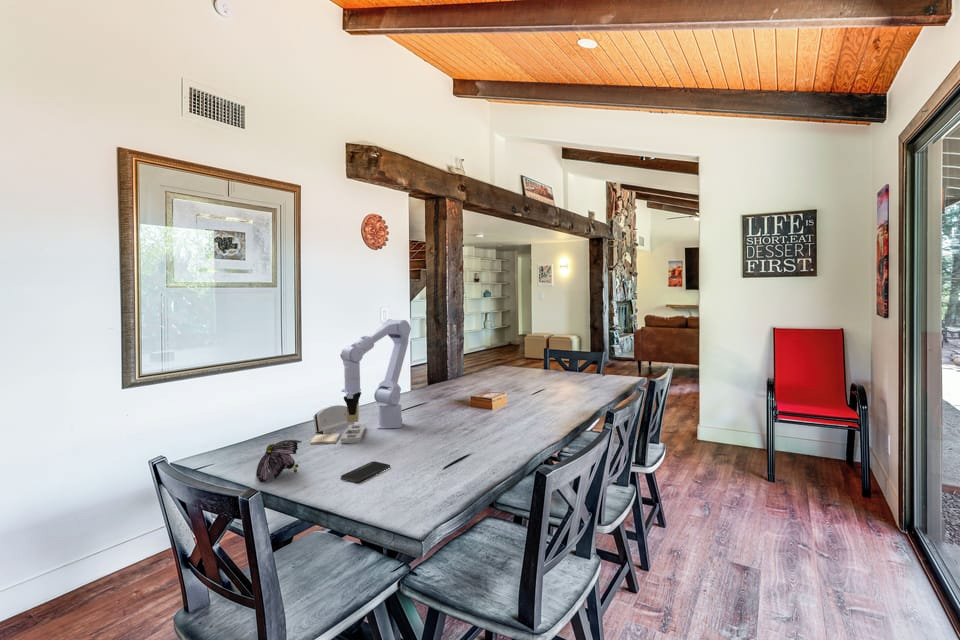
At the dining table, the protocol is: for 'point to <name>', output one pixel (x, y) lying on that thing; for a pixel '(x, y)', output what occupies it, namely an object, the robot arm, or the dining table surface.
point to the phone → (365, 472)
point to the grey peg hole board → (353, 433)
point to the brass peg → (353, 417)
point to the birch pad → (325, 438)
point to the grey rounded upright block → (331, 419)
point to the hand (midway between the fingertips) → (353, 413)
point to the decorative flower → (277, 459)
